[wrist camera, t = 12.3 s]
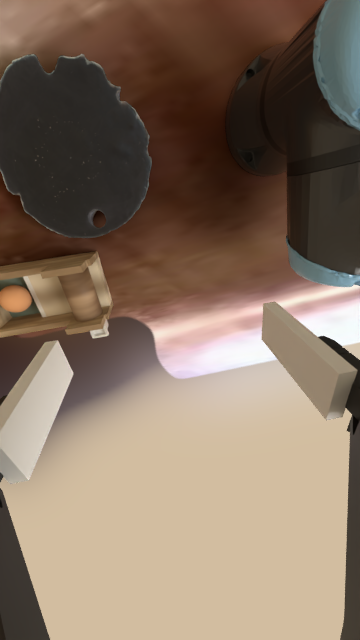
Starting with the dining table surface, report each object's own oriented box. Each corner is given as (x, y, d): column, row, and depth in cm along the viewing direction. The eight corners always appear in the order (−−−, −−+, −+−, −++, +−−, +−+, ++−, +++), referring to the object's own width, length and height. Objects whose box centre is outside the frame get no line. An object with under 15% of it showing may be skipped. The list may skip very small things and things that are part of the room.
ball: (-15, 291, 39) (4, 291, 38) (12, 280, 43) (30, 280, 42) (0, 316, 42) (18, 318, 40) (24, 304, 46) (42, 305, 44)
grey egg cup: (91, 316, 48) (87, 325, 45) (106, 313, 49) (103, 322, 45) (96, 329, 50) (92, 338, 47) (110, 326, 50) (108, 335, 47)
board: (138, 250, 43) (135, 255, 39) (10, 216, 39) (-9, 218, 35) (166, 102, 34) (167, 87, 29) (2, 38, 30) (-26, 8, 25)
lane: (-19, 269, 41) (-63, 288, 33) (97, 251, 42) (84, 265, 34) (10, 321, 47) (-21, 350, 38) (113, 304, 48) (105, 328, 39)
